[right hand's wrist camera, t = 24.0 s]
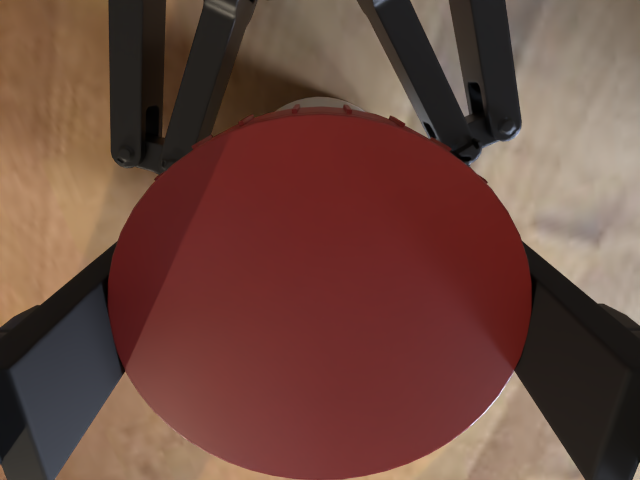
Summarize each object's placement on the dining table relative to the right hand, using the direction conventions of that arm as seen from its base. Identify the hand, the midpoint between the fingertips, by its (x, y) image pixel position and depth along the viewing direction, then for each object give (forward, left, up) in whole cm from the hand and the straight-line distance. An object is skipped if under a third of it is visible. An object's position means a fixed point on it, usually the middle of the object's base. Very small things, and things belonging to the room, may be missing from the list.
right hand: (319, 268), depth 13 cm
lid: (0, 0, +3) cm, 3 cm away
